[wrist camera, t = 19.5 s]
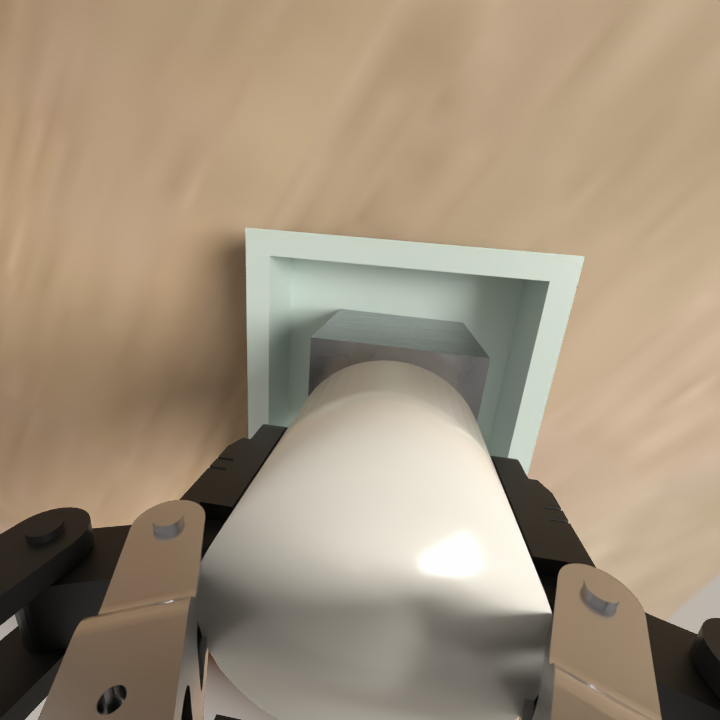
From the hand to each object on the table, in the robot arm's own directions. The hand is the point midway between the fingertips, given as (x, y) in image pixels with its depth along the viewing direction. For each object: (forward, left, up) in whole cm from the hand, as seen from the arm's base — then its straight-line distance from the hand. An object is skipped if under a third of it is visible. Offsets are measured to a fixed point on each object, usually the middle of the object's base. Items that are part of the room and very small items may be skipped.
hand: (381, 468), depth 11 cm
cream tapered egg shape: (0, 0, -1) cm, 1 cm away
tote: (0, 0, -10) cm, 10 cm away
